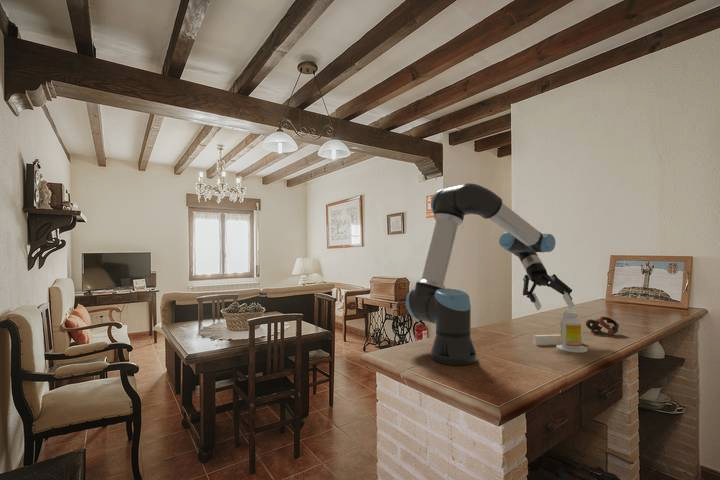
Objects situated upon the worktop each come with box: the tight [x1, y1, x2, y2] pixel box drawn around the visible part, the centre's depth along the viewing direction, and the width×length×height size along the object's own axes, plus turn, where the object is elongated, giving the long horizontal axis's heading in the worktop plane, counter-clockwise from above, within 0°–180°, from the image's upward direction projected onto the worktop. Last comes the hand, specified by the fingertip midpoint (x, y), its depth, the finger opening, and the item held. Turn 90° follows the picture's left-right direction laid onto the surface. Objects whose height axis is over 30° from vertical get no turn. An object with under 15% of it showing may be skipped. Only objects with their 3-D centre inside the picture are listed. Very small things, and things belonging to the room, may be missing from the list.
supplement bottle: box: [559, 310, 582, 349], centre depth 134 cm, size 7×7×13 cm
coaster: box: [555, 344, 589, 354], centre depth 133 cm, size 10×10×1 cm
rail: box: [532, 333, 584, 346], centre depth 140 cm, size 19×2×4 cm, turn 94°
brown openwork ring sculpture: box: [585, 315, 620, 337], centre depth 155 cm, size 12×10×8 cm
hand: (556, 308), depth 143 cm, fingers open, 13 cm apart
